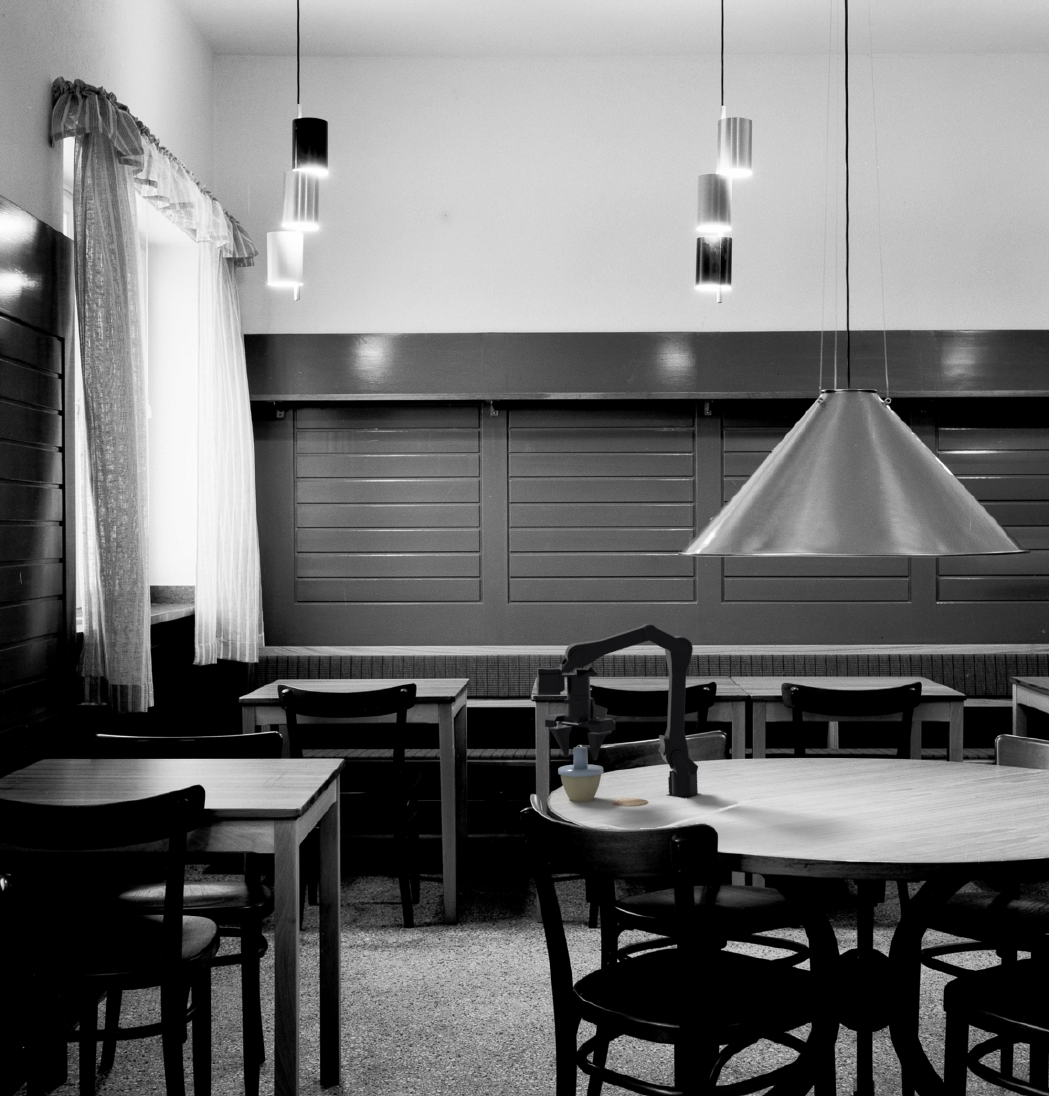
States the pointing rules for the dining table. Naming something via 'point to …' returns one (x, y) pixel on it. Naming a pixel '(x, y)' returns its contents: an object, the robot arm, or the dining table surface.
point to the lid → (580, 765)
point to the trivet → (629, 802)
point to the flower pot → (581, 787)
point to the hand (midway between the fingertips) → (580, 758)
